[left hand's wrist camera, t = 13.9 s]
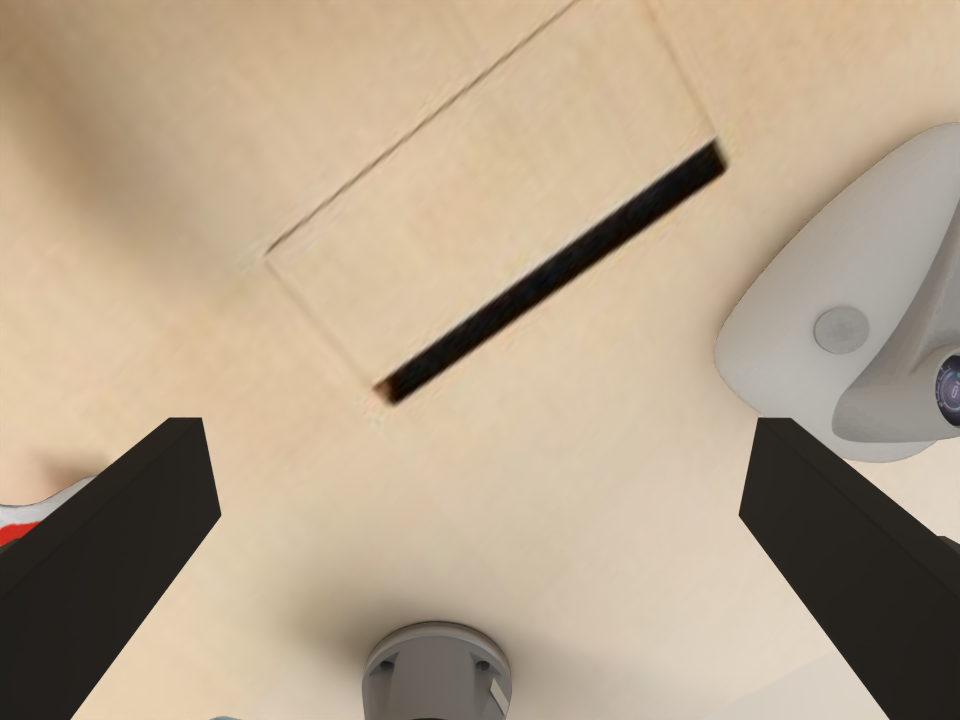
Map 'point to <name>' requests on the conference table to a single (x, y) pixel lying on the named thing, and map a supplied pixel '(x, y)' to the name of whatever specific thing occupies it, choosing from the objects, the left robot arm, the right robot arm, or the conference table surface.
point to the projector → (862, 312)
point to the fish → (33, 512)
